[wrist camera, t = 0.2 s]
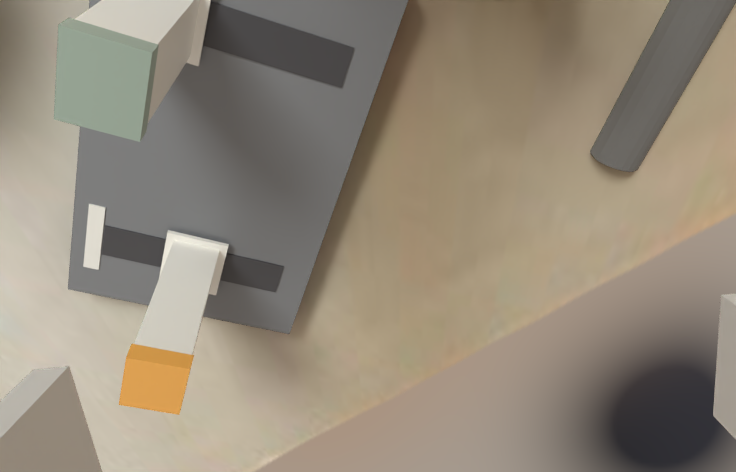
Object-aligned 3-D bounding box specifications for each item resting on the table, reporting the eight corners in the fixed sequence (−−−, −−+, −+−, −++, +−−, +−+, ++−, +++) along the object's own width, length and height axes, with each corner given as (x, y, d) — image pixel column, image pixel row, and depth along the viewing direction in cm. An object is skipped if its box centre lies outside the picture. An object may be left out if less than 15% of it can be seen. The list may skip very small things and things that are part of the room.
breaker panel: (77, 271, 43) (67, 290, 41) (111, -123, 29) (98, -120, 28) (290, 316, 46) (289, 334, 45) (407, -17, 33) (411, -9, 31)
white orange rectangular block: (159, 280, 41) (110, 407, 32) (168, 229, 38) (118, 351, 29) (216, 292, 42) (185, 419, 33) (228, 244, 39) (199, 366, 30)
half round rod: (582, 152, 40) (592, 164, 39) (757, -183, 30) (779, -184, 29) (636, 165, 41) (647, 177, 40) (823, -156, 31) (848, -156, 29)
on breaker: (124, 42, 32) (42, 124, 23) (133, -43, 29) (46, 11, 20) (199, 64, 33) (149, 152, 23) (213, -16, 30) (164, 46, 21)
